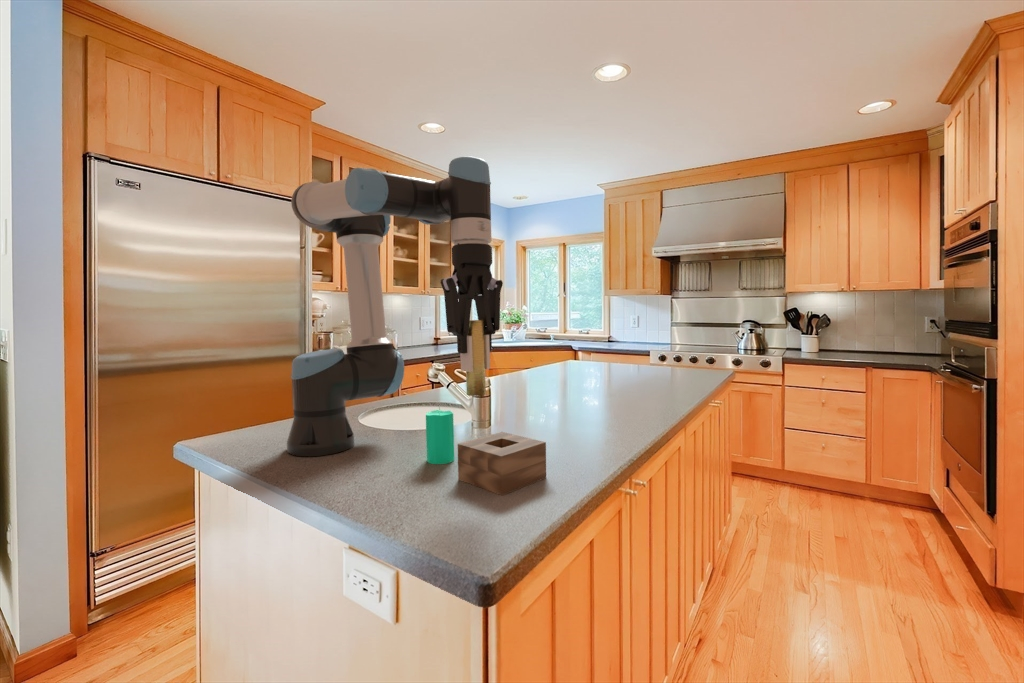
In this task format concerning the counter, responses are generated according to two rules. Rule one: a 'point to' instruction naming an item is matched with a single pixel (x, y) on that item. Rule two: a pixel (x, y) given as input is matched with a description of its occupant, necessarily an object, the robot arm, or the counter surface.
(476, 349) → the brass pin
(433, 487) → the counter surface
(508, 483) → the bore block
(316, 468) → the counter surface
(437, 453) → the candle
